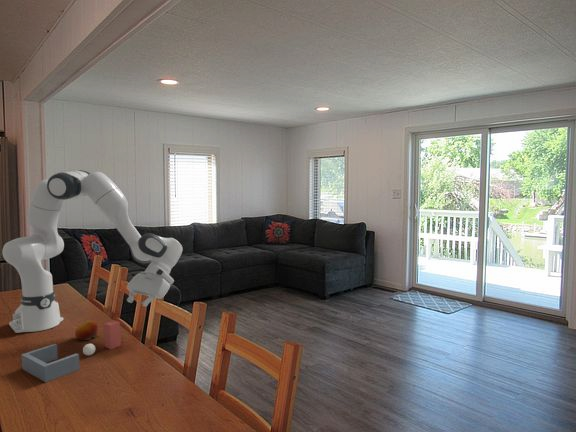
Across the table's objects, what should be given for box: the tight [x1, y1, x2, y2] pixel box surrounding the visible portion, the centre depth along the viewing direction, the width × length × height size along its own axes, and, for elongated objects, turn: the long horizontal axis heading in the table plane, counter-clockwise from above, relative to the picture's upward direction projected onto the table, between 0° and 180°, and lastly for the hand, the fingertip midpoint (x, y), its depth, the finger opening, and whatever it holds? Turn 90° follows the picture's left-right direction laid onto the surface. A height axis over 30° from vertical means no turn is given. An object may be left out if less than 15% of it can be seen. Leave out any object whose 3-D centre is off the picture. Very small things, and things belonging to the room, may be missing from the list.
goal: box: [20, 343, 81, 383], centre depth 133 cm, size 16×10×5 cm, turn 55°
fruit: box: [74, 319, 99, 341], centre depth 159 cm, size 8×8×8 cm
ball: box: [82, 343, 96, 356], centre depth 144 cm, size 4×4×4 cm
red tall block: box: [103, 320, 122, 350], centre depth 151 cm, size 4×4×9 cm
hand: (136, 303), depth 159 cm, fingers open, 8 cm apart
